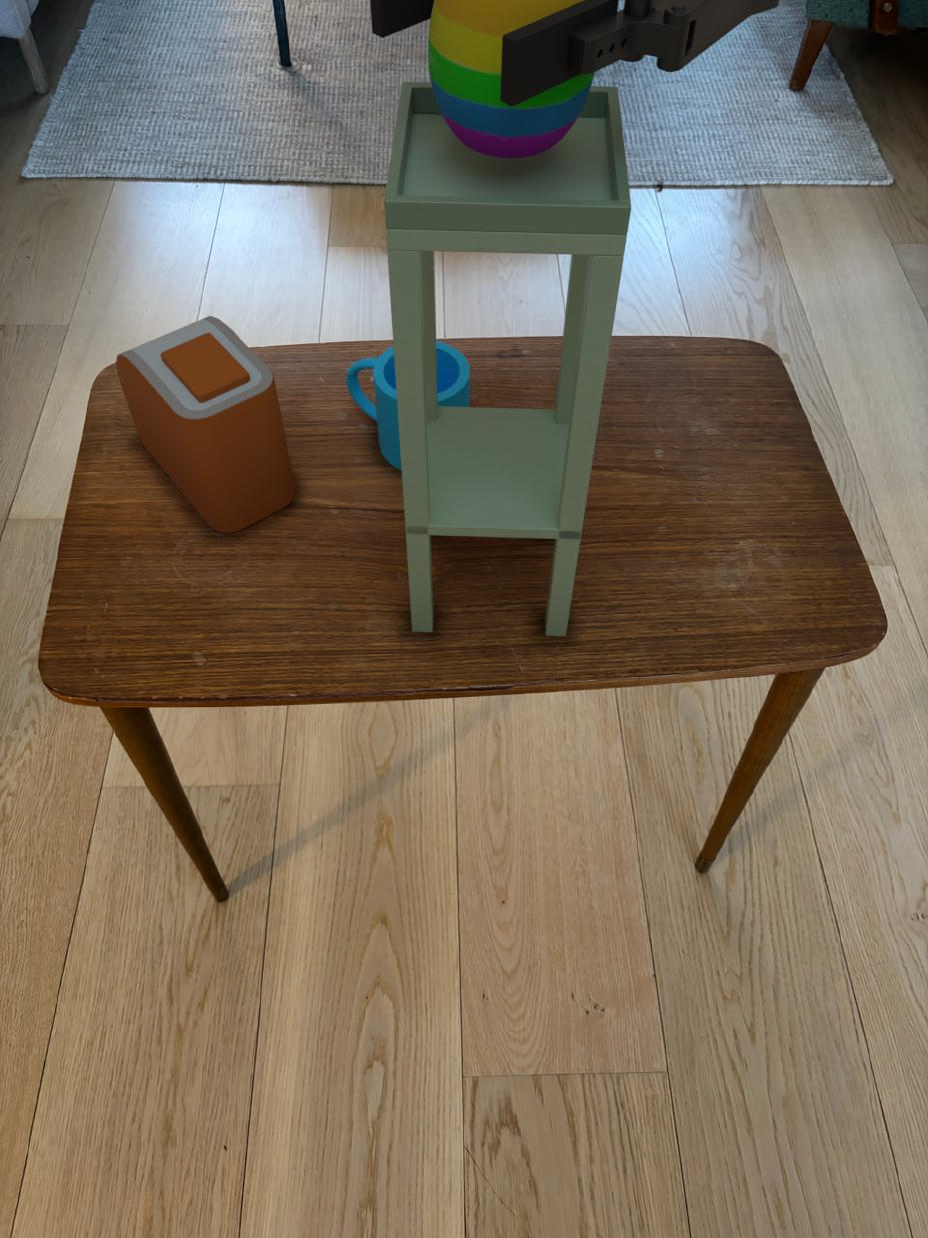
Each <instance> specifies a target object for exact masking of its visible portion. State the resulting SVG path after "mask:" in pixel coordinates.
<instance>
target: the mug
mask: <svg viewBox="0 0 928 1238" xmlns="http://www.w3.org/2000/svg"><path fill="white" fill-rule="evenodd" d="M436 349H437V394H438V406H444V407H471V406H470V403H471V402H470V401H471V400H470V397H471V396H470V395H471V394H470V393H471V392H470V391H471V390H470V389H471V367H470V365H469V362H468V360H467V357H466V356H464V354H463V353H461V352H460V351H459V349H457V348H455V347H453V346H451V345H450V344H448V343H445V342H442V341H437V340H436ZM363 370H373V371H372V378H373V389H374V398H375V399H374V400H375V404H374V403H373V402H372V401H371V400H370V399H369V398H368V397H367V395H366V394H365V392H364V390H363V389H362V387H361V386H360V382H359V373H361V372H362V371H363ZM345 379H346V380H345V384H346V387H347V391H348V393H349V394H350V396H351V398H352V400H353V401H354V403H355V404H356V405H357V406H358V407H359V408H360V409H361V410H362V412H363V413H365V414H366V415H367V416H369V417H370V418H371V419H372V420H374V421H375V422H376V423H377V424H376V425H377V435H378V446H379V448H380V451H381V455H382V456H383V458H384V459H385V460H386V462H388V463H389V465H391V466H393V467H394V468H396V469H397V470H400V471H402V469H401V453H400V438H399V423H398V407H397V392H396V377H395V362H394V346H390V347H389V348H388V349H386V350H385V351H384V352H383V353H381V354H380V355H379V356H378V357H364V358H362V359H359V360H356V361H354V362H353V363H352V365H350V367H349V368H348V370H347V371H346V378H345Z"/></svg>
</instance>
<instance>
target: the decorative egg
mask: <svg viewBox="0 0 928 1238" xmlns="http://www.w3.org/2000/svg"><path fill="white" fill-rule="evenodd" d="M581 1H584V0H434V4H433V9H432V13H431V19H429V20H430V21H429V27H428V37H427V61H428V63H427V64H428V72H429V79H430V82H431V84H432V89H433V93H434V96H435V99H436V102H437V105H438V107H439V110H440V112H441V114H442V116H443V118H444V120H445V121H446V123H447V125H448V126H449V128H450V129H451V130H452V132H453V133H454V134H455V136H456V137H457V138H458V139H459V140H460V141H461V142H462V143H463V144H464V145H466V146H467V147H468V148H470V149H472V150H474V151H476V152H478V153H481V154H485V155H488V156H492V157H499V158H523V157H529V156H533V155H537V154H540V153H542V152H545V151H547V150H549V149H550V148H552V147H553V146H555V145H556V144H557V143H558V142H559V141H560V140H561V139H562V138H563V137H564V136H565V135H566V134H567V132H568V131H569V130H570V129H571V127H572V126H573V124H574V123H575V121H576V120H577V118H578V117H579V115H580V113H581V111H582V109H583V107H584V105H585V102H586V100H587V97H588V95H589V92H590V88H591V86H593V85H592V84H593V81H594V77H595V72H594V73H590V74H585V75H578V76H576V77H574V78H572V79H570V80H568V81H566V82H564V83H562V84H559V85H557V86H555V87H553V88H551V89H549V90H547V91H545V92H543V93H541V94H538V95H536V96H534V97H532V98H530V99H528V100H526V101H524V102H522V103H519V104H517V105H515V106H513V107H511V106H509V105H507V104H506V103H504V102H502V101H500V92H501V63H502V36H503V35H505V34H507V33H510V32H512V31H514V30H516V29H519V28H521V27H523V26H526V25H528V24H530V23H533V22H535V21H537V20H540V19H542V18H544V17H547V16H549V15H551V14H554V13H556V12H558V11H561V10H563V9H565V8H568V7H570V6H572V5H574V4H577V3H579V2H581Z"/></svg>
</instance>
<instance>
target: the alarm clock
mask: <svg viewBox="0 0 928 1238" xmlns="http://www.w3.org/2000/svg"><path fill="white" fill-rule="evenodd" d="M115 366H116V370H117V377H118V381H119V383H120V386H121V389H122V392H123V395H124V398H125V400H126V403H127V407H128V409H129V412H130V415H131V418H132V420H133V424H134V426H135V430H136V432H137V435H138V438H139V440H140V443H141V444H142V446H143V447H144V448H145V449H146V450H147V451H148V454H150V455H151V457H152V458H153V459H154V460H155V461H156V463H157V464H158V465H159V467H161V469H162V470H163V471H164V472H165V474H166V475H167V476H168V477H169V479H170V480H171V481H172V482H173V483H174V484H175V486H176V487H177V488H178V490H179V491H180V492H181V493H182V494H183V496H184V497H185V498H186V500H187V501H188V502H189V503H190V505H191V506H192V507H193V508H194V509H195V511H196V512H197V513H198V515H199V516H200V517H201V518H202V519H203V521H204V522H205V523H206V524H207V526H208V527H210V528H211V529H212V530H214V531H216V532H219V533H222V534H231V533H236V532H239V531H241V530H245V529H246V528H247V527H249V526H252V525H254V524H255V523H258V522H259V521H261V520H263V519H265V518H267V517H269V516H271V515H273V514H274V513H276V512H278V511H281V510H282V509H285V508H286V507H287V506H289V505H290V504H291V502H293V500H294V498H295V496H296V486H295V480H294V477H293V476H294V474H293V471H292V465H291V459H290V455H289V449H288V444H287V440H286V434H285V427H284V423H283V422H284V421H283V418H282V412H281V407H280V402H279V401H280V400H279V397H278V391H277V385H276V380H275V375H274V373H273V371H272V370H271V369H270V368H269V367H268V365H266V364H265V363H264V361H263V360H261V358H260V357H259V356H258V355H257V354H256V353H255V352H254V351H253V350H252V349H251V348H250V347H249V346H248V344H246V343H245V342H244V340H242V339H241V338H240V337H239V335H238V334H237V333H236V332H235V331H234V329H232V328H231V327H229V326H228V325H227V323H225V322H223V321H222V320H221V319H220V318H217V317H215V316H212V315H208V316H207V317H204V318H201V319H199V320H196V321H195V322H194V321H193V322H192V323H189V324H187V325H185V326H182V327H180V328H178V329H175V330H173V331H170V332H168V333H166V334H163V335H161V336H159V337H157V338H154V339H151V340H149V341H147V342H144V343H142V344H140V345H137V346H135V347H133V348H131V349H128V350H125V351H123V352H121V353H118V354H117V356H116V360H115Z"/></svg>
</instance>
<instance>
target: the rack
mask: <svg viewBox="0 0 928 1238" xmlns="http://www.w3.org/2000/svg"><path fill="white" fill-rule="evenodd" d="M400 87H401V88H400V93H399V100H398V107H397V113H396V120H395V127H394V133H393V141H392V147H391V153H390V158H389V166H388V173H387V180H386V186H385V193H384V200H383V205H384V218H385V219H384V222H385V223H384V224H385V237H386V249H387V250H386V251H387V267H388V281H389V282H388V284H389V298H390V299H389V300H390V314H391V328H392V343H393V344H392V345H393V346H394V362H395V377H396V392H397V407H398V423H399V438H400V453H401V469H402V470H401V484H402V497H403V498H402V500H403V512H404V527H405V544H406V558H407V559H406V560H407V573H408V574H407V575H408V591H409V604H410V620H411V631H412V632H413V633H433V629H434V619H435V618H434V617H435V616H434V615H435V614H434V590H433V589H434V587H433V585H434V584H433V560H432V558H433V557H432V555H433V554H432V536H447V537H480V538H481V537H482V538H509V539H510V538H511V539H512V538H513V539H542V540H544V539H545V540H554V543H553V551H552V552H553V554H552V559H551V567H550V568H551V569H550V577H549V585H548V593H547V602H546V610H545V619H544V631H545V633H544V634H545V635H544V636H546V637H566V636H567V631H568V626H569V619H570V618H569V617H570V612H571V605H572V599H573V593H574V592H573V591H574V586H575V579H576V573H577V572H576V571H577V565H578V560H579V552H580V546H581V540H582V532H583V527H584V520H585V515H586V514H585V513H586V508H587V507H586V506H587V500H588V493H589V487H590V482H591V481H590V480H591V475H592V467H593V461H594V455H595V448H596V441H597V435H598V427H599V423H600V422H599V421H600V414H601V409H602V403H603V396H604V390H605V389H604V388H605V382H606V377H607V370H608V364H609V356H610V351H611V350H610V349H611V345H612V344H611V343H612V337H613V331H614V323H615V316H616V310H617V305H618V304H617V303H618V298H619V297H618V296H619V290H620V284H621V278H622V271H623V265H624V258H625V257H624V256H625V252H626V245H627V240H628V239H627V238H628V233H629V227H630V226H629V225H630V220H631V213H632V202H631V192H630V191H631V190H630V183H629V174H628V166H627V156H626V148H625V138H624V131H623V122H622V121H623V120H622V113H621V104H620V95H619V88H618V86H612V85H611V86H609V85H591V88H590V92H589V95H588V97H587V100H586V102H585V105H584V107H583V109H582V111H581V113H580V115H579V117H578V118H577V120H576V121H575V123H574V124H573V126H572V127H571V129H570V130H569V131H568V132H567V134H566V135H565V136H564V137H563V138H562V139H561V140H560V141H559V142H558V143H557V144H556V145H555V146H553V147H552V148H550V149H549V150H547V151H545V152H542V153H540V154H537V155H533V156H529V157H523V158H499V157H492V156H488V155H485V154H481V153H478V152H476V151H474V150H472V149H470V148H468V147H467V146H466V145H464V144H463V143H462V142H461V141H460V140H459V139H458V138H457V137H456V136H455V134H454V133H453V132H452V130H451V129H450V128H449V126H448V125H447V123H446V121H445V120H444V118H443V116H442V114H441V112H440V110H439V107H438V105H437V102H436V99H435V96H434V93H433V89H432V84H431V81H429V82H428V81H426V82H425V81H402V82H401V86H400ZM435 252H452V253H453V252H455V253H456V252H457V253H458V252H459V253H489V254H490V253H493V254H494V253H495V254H497V253H498V254H502V253H503V254H533V255H534V254H536V255H570V265H569V275H568V283H567V293H566V303H565V312H564V322H563V331H562V340H561V341H562V342H561V351H560V361H559V371H558V379H557V388H556V399H555V409H546V408H543V409H542V408H515V407H513V408H511V407H510V408H509V407H478V406H477V407H475V406H473V407H472V406H470V407H444V406H438V394H437V349H436V341H437V307H436V305H437V304H436V261H435ZM393 346H392V347H393Z"/></svg>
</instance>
